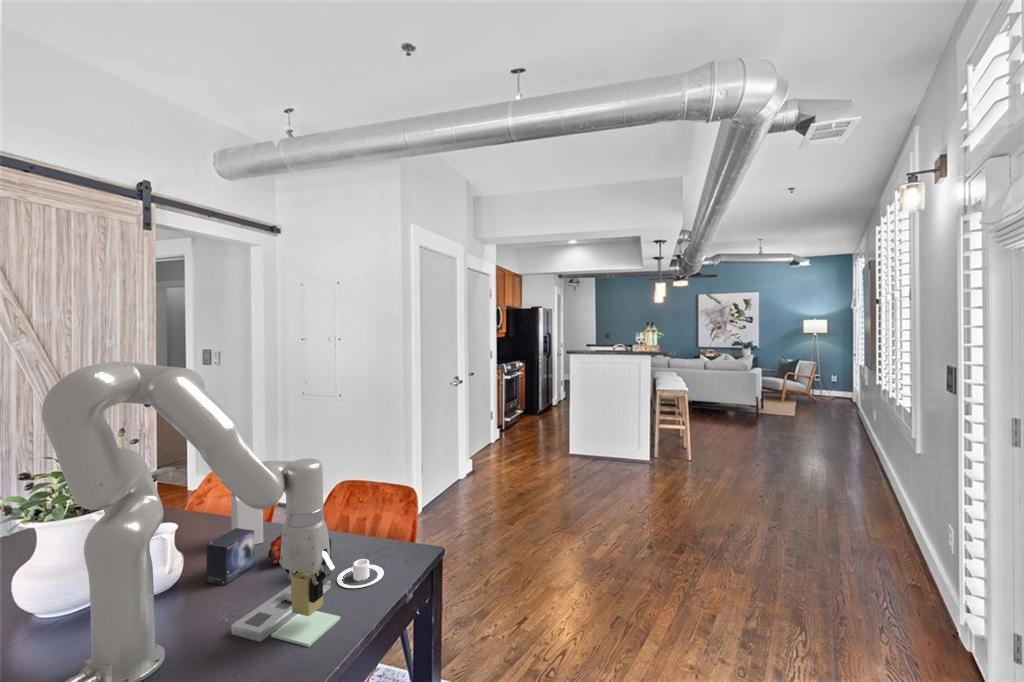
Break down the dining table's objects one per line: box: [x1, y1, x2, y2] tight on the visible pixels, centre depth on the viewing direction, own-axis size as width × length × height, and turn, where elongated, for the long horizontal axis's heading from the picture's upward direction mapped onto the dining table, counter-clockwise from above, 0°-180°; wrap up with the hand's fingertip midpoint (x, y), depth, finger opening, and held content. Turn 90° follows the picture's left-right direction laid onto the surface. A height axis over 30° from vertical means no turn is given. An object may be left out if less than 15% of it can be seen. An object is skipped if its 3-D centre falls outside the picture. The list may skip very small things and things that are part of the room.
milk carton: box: [230, 492, 264, 546], centre depth 147 cm, size 7×7×19 cm
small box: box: [206, 528, 255, 586], centre depth 128 cm, size 11×6×10 cm, turn 169°
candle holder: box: [336, 558, 385, 589], centre depth 127 cm, size 12×12×4 cm
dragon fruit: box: [267, 533, 282, 565], centre depth 136 cm, size 8×8×12 cm
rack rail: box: [230, 578, 331, 642], centre depth 113 cm, size 22×8×2 cm, turn 161°
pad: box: [270, 610, 341, 648], centre depth 106 cm, size 10×10×1 cm
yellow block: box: [290, 571, 324, 616], centre depth 106 cm, size 4×4×8 cm
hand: (307, 596), depth 106 cm, fingers closed on yellow block, 4 cm apart
